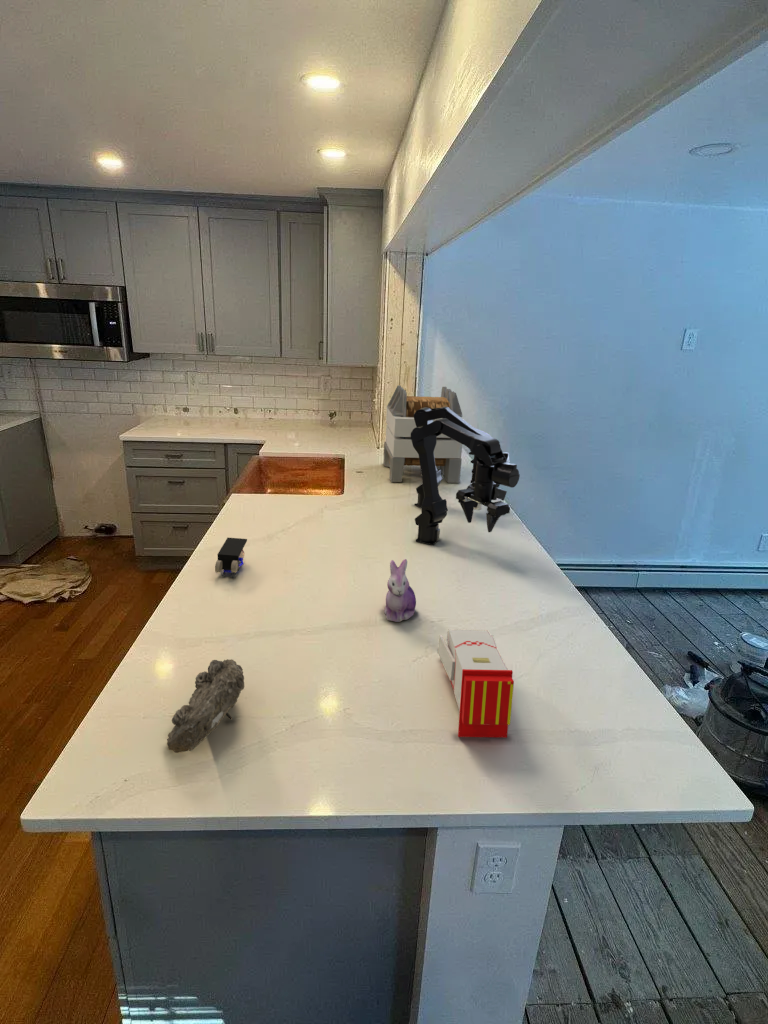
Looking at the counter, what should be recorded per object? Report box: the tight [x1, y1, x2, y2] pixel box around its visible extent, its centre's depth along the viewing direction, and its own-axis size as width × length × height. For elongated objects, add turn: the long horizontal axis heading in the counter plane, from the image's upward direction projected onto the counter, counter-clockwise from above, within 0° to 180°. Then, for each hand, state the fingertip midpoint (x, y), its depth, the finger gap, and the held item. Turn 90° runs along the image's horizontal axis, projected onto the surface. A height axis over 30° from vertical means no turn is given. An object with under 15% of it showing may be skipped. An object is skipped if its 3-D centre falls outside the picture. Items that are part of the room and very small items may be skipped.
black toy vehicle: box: [214, 537, 248, 578], centre depth 166 cm, size 7×8×15 cm
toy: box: [437, 628, 515, 738], centre depth 117 cm, size 12×13×30 cm
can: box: [473, 503, 483, 511], centre depth 220 cm, size 4×4×4 cm
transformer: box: [383, 384, 465, 484], centre depth 268 cm, size 34×33×41 cm
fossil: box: [166, 658, 245, 754], centre depth 106 cm, size 22×10×15 cm
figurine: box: [384, 558, 417, 623], centre depth 145 cm, size 9×10×15 cm
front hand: (479, 527), depth 178 cm, fingers open, 9 cm apart
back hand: (476, 505), depth 220 cm, fingers closed on can, 4 cm apart
